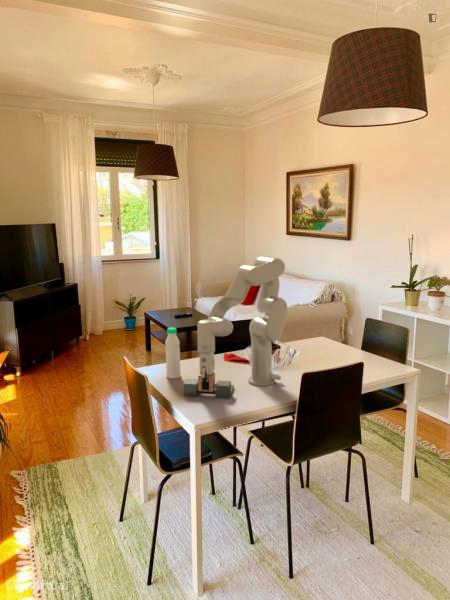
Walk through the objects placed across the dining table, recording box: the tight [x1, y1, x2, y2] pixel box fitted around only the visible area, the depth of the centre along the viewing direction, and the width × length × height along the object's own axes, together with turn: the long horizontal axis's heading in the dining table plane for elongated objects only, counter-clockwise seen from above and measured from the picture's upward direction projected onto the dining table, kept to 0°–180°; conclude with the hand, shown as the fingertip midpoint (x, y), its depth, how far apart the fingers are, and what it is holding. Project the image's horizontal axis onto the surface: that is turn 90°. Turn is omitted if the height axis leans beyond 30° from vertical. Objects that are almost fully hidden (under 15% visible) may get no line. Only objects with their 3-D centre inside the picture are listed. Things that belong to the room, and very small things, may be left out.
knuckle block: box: [197, 372, 216, 392], centre depth 202 cm, size 6×5×7 cm
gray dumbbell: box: [181, 378, 235, 400], centre depth 206 cm, size 22×13×6 cm, turn 79°
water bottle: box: [164, 327, 182, 380], centre depth 225 cm, size 7×7×25 cm
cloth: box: [223, 352, 252, 366], centre depth 253 cm, size 26×14×2 cm, turn 21°
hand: (206, 386), depth 203 cm, fingers closed on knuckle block, 5 cm apart
